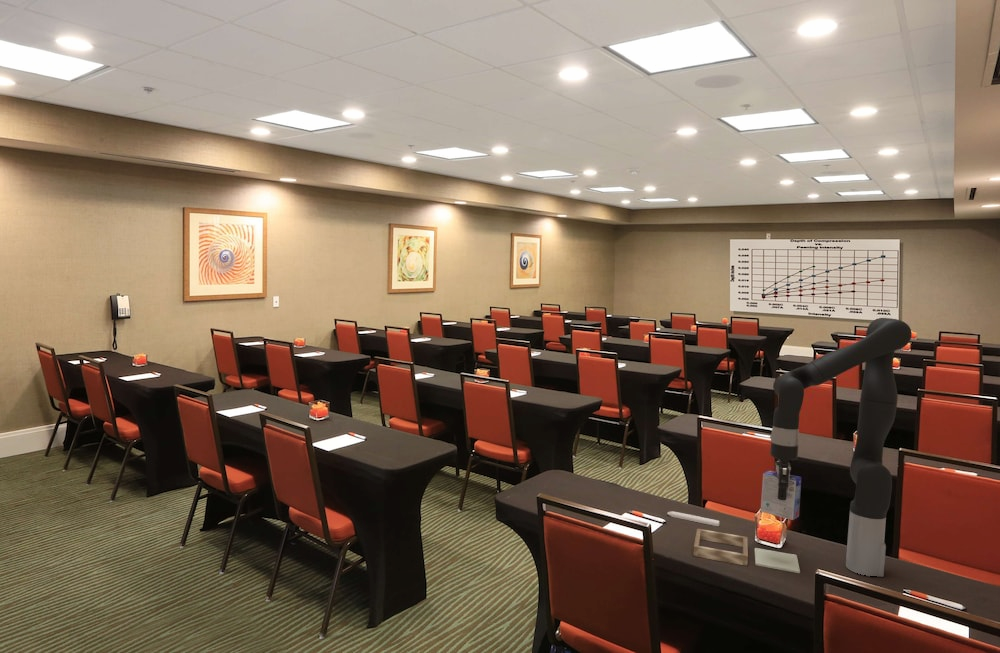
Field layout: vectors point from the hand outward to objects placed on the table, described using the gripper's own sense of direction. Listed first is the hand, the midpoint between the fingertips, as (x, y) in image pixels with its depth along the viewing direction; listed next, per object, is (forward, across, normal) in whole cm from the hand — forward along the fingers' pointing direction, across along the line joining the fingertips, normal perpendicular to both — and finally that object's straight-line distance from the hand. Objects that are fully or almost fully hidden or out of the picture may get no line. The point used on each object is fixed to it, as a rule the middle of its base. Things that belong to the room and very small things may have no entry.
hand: (781, 495), depth 184 cm
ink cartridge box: (+6, 0, 0) cm, 6 cm away
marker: (+21, +23, +26) cm, 40 cm away
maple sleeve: (+20, 0, +16) cm, 26 cm away
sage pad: (+20, 0, 0) cm, 20 cm away
